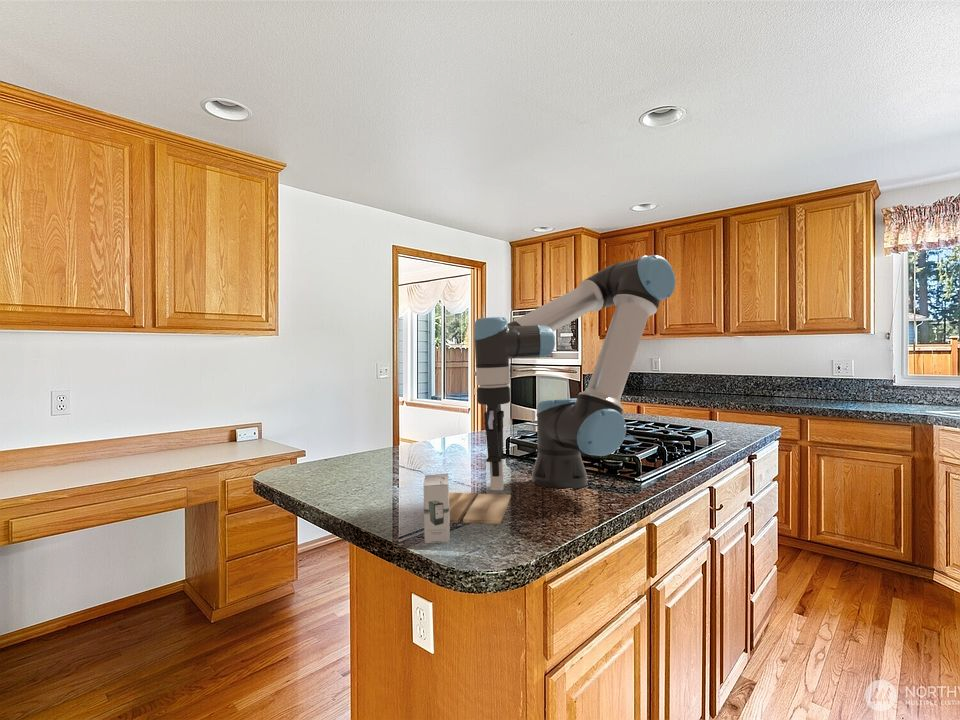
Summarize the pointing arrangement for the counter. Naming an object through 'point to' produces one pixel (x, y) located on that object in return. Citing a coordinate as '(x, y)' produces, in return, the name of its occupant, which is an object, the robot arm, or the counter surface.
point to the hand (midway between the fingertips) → (497, 489)
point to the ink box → (436, 508)
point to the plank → (487, 509)
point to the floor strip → (459, 505)
